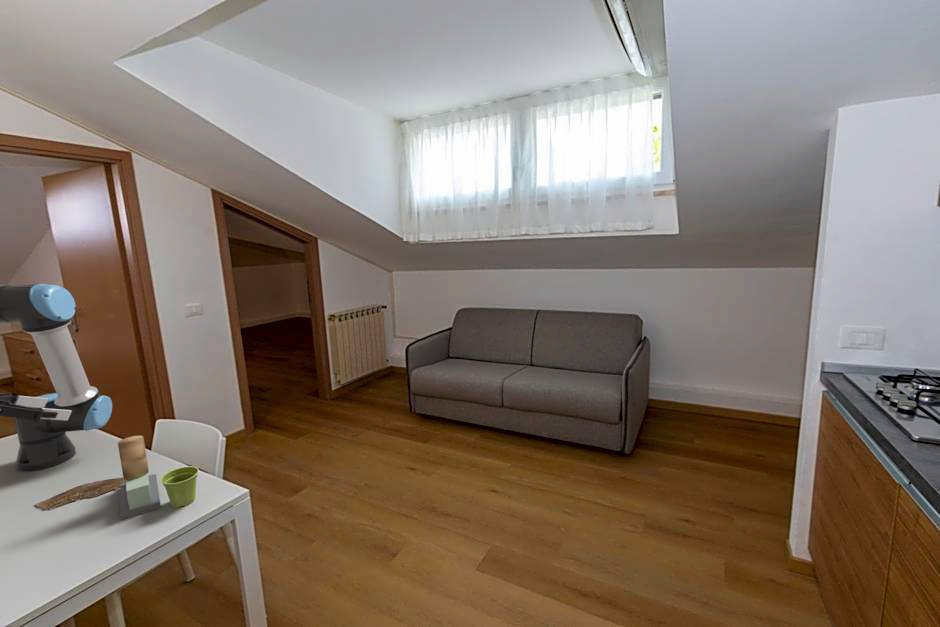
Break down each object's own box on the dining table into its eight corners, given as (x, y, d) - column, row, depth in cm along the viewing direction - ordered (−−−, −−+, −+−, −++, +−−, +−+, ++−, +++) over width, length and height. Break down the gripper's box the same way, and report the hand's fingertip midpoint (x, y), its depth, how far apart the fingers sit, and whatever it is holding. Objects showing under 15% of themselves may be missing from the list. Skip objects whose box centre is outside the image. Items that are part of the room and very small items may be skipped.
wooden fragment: (30, 516, 121) (29, 513, 121) (37, 498, 130) (36, 495, 130) (143, 484, 137) (143, 481, 137) (143, 470, 145) (142, 467, 145)
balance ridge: (121, 488, 134) (117, 466, 133) (156, 478, 140) (153, 456, 138) (121, 519, 119) (117, 495, 118) (160, 507, 124) (157, 483, 123)
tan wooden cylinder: (122, 474, 128) (117, 440, 126) (147, 467, 132) (142, 433, 130) (124, 482, 124) (118, 447, 122) (149, 474, 128) (144, 440, 126)
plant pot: (209, 495, 130) (206, 469, 128) (179, 514, 121) (175, 486, 120) (187, 489, 133) (183, 464, 131) (156, 507, 124) (152, 480, 123)
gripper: (-77, 403, 107) (30, 410, 126) (-37, 430, 97) (73, 434, 116) (-62, 374, 109) (42, 386, 128) (-21, 398, 99) (85, 407, 117)
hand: (57, 409), depth 122 cm, fingers open, 13 cm apart
